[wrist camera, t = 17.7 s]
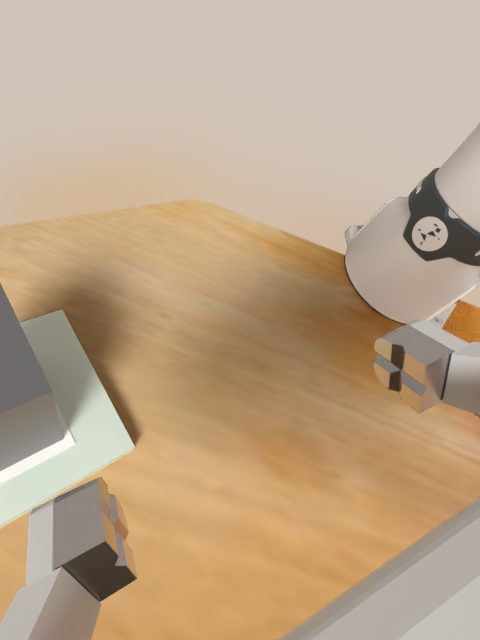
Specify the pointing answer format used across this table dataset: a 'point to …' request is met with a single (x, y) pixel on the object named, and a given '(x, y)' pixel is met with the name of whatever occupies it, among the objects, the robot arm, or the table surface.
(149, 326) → the table surface
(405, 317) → the robot arm
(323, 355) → the table surface
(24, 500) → the pin board
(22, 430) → the block
